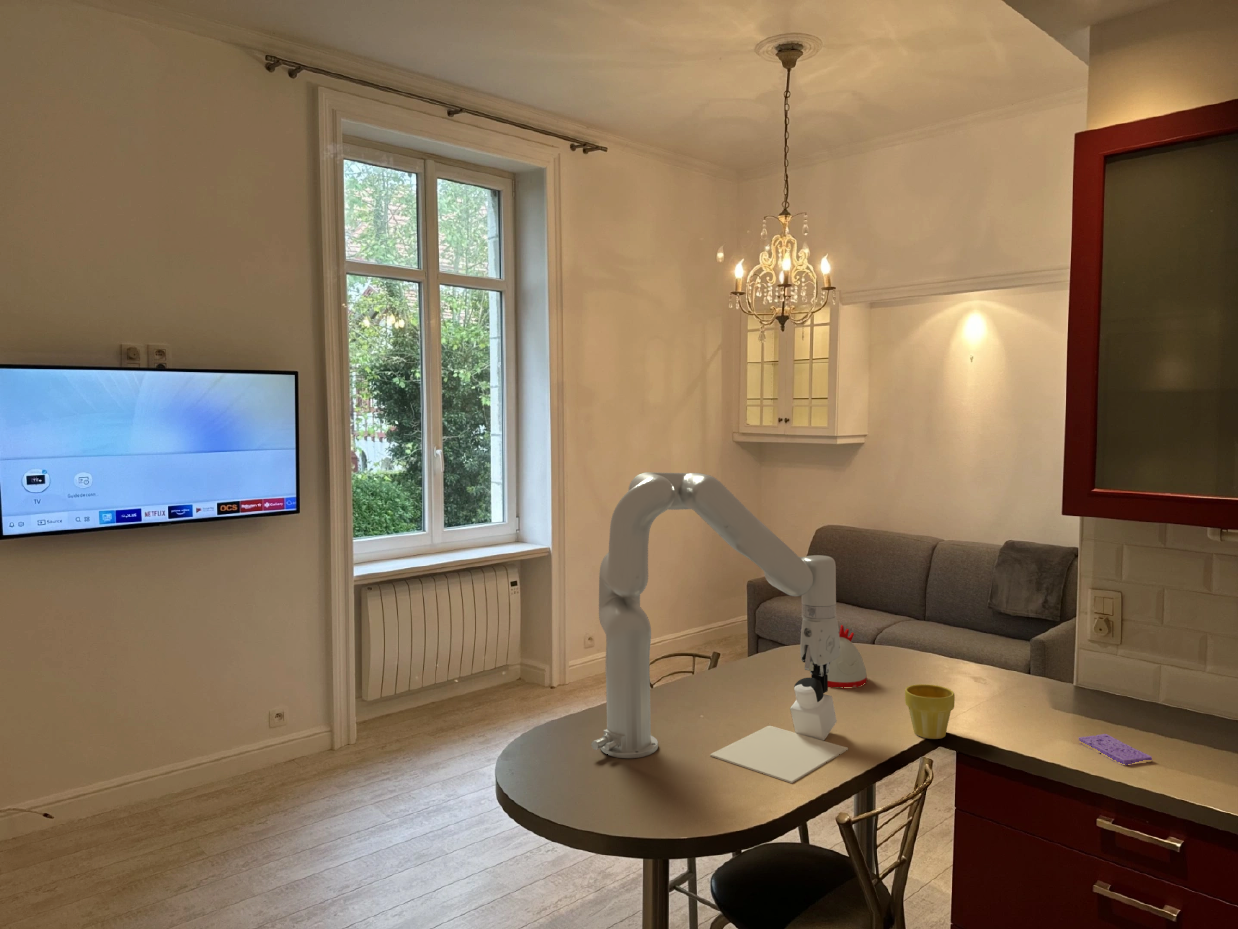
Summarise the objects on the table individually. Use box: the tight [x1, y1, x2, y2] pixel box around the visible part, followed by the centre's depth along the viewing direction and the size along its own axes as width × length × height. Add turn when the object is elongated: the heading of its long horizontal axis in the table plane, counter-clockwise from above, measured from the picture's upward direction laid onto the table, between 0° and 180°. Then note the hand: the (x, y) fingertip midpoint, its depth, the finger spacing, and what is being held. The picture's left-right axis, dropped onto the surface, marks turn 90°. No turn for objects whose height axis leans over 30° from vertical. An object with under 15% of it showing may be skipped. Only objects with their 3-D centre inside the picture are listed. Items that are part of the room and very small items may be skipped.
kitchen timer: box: [827, 624, 868, 689], centre depth 227 cm, size 14×14×15 cm
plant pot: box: [904, 683, 955, 740], centre depth 188 cm, size 10×10×10 cm
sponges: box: [1078, 733, 1153, 765], centre depth 177 cm, size 7×13×2 cm, turn 12°
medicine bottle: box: [789, 677, 838, 741], centre depth 188 cm, size 7×7×12 cm
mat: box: [709, 725, 849, 784], centre depth 180 cm, size 22×20×1 cm
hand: (819, 691), depth 191 cm, fingers closed
